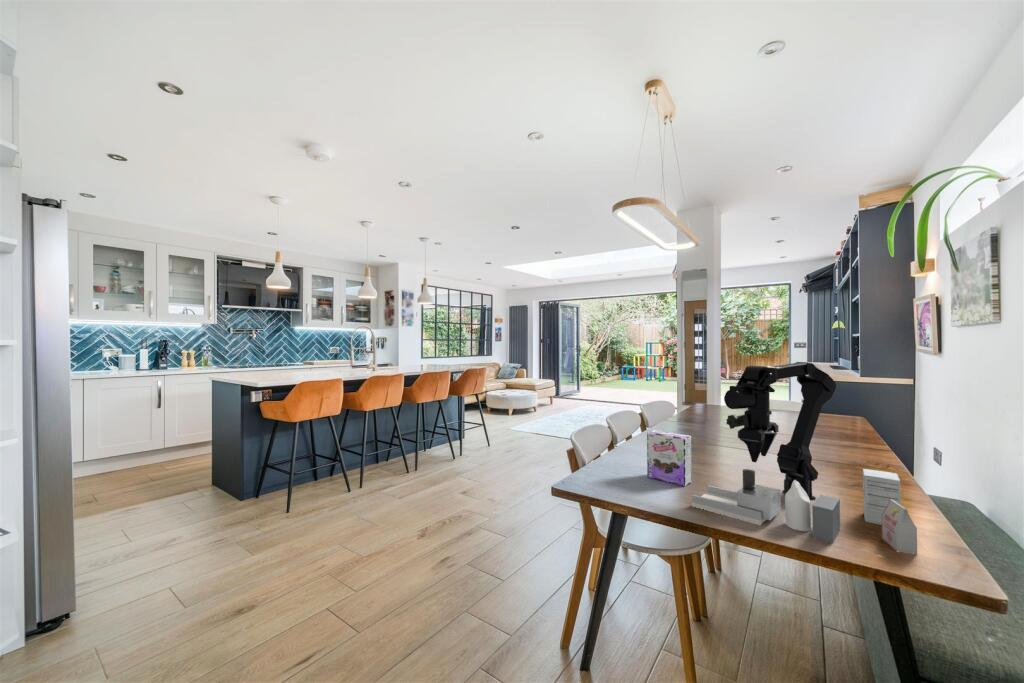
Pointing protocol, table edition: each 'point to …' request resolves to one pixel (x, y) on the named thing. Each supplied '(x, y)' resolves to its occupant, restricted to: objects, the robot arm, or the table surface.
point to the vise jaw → (758, 496)
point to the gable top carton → (899, 528)
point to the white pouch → (797, 508)
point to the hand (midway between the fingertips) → (758, 458)
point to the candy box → (669, 457)
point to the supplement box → (879, 493)
